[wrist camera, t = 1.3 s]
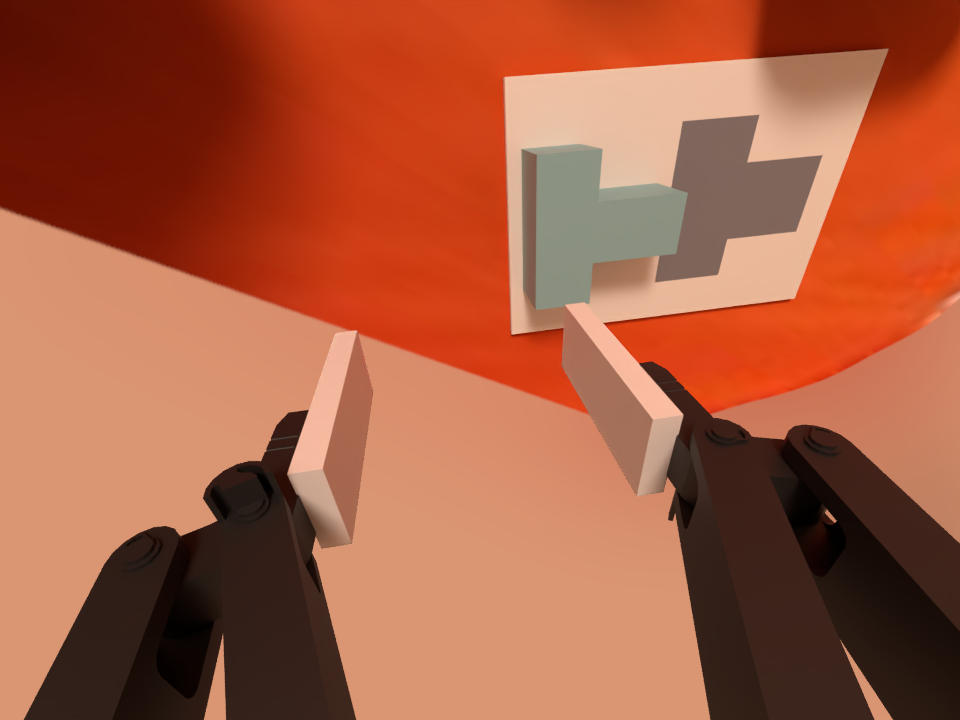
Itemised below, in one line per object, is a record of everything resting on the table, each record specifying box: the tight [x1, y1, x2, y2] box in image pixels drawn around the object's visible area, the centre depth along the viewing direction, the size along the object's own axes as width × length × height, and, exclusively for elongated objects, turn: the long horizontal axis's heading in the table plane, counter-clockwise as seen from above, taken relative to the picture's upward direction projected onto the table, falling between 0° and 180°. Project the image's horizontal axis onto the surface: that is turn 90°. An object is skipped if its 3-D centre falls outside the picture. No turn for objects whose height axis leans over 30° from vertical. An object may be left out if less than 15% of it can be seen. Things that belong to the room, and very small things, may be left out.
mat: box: [503, 49, 889, 334], centre depth 31 cm, size 18×26×1 cm
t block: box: [521, 144, 688, 310], centre depth 28 cm, size 10×10×4 cm
